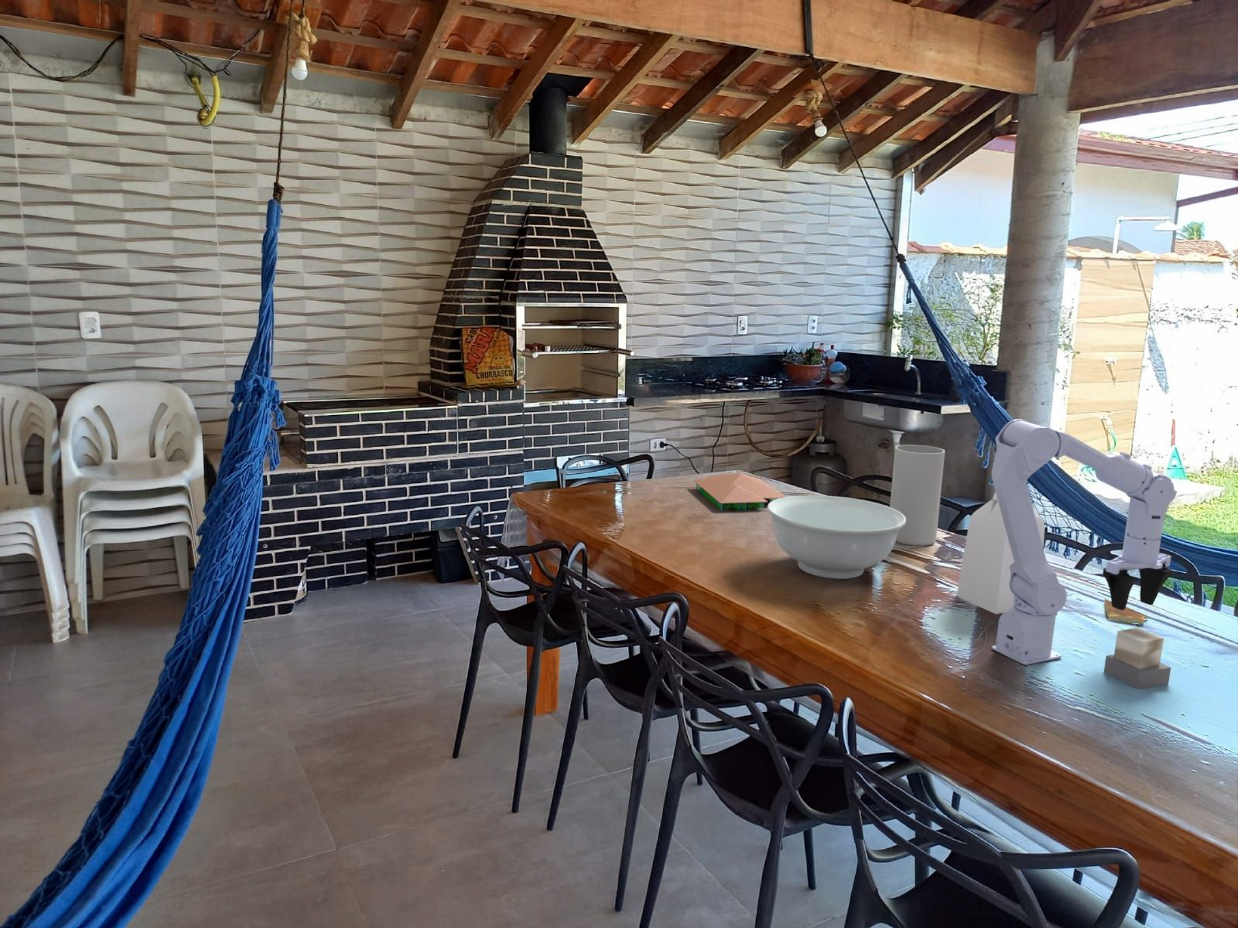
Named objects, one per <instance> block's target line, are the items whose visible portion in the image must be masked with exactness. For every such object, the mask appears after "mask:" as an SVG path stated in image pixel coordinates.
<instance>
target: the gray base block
mask: <svg viewBox="0 0 1238 928" xmlns="http://www.w3.org/2000/svg"><path fill="white" fill-rule="evenodd" d="M1171 670H1172V667H1170V666H1169V665H1167V664H1166V663H1165V664H1164V663H1162V662H1160V665H1157V666H1152V667H1147V668H1143V669H1138V668H1136V667H1134V666H1131V665H1129V664H1127V663H1125V662H1122V661H1120V660H1118V659H1116V658H1114V654H1108V655H1106V656H1105V663H1104V669H1103V673H1105V674H1107V675H1109V676H1110V677H1113V678H1115V679H1116V680H1119V681H1120V682H1123V683H1124V684H1126V685H1128V686H1131V688H1134V689H1136V690H1141V689H1147V688H1153V687H1159V686H1166V685H1169V683H1170V676H1171Z"/></svg>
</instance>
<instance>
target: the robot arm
mask: <svg viewBox="0 0 1238 928" xmlns="http://www.w3.org/2000/svg"><path fill="white" fill-rule="evenodd" d="M995 444H996V451H995V455H994V460H993V465H992V469H991V473H990V474H991V480H992V483H993V487H994V493H995V492H996V495H997V499H998V503H999V506H1000V510H1001V514H1002V518H1003V521H1004V525H1005V529H1006V533H1007V536H1008V540H1009V544H1010V548H1011V551H1012V555H1013V559H1014V562H1013V563H1012V564H1011V565H1010V566H1009V568H1010V572H1011V576H1010V580H1009V587H1010V590H1011V592H1012V593H1013V594H1014V605H1013V607H1012V609H1011V610H1010V611H1008V612H1005V613H1001V615H1000V616H999V620H998V623H997V624H998V625H997V633H996V634H997V635H996V640H995V645H992V646H991V649H992V650H994V651H995V652H997V653H1000V654H1002V655H1004V656H1006V657H1007V658H1009V659H1012V660H1013V661H1016V662H1018V663H1020V664H1022V665H1025V666H1027V665H1031V664H1037V663H1042V662H1046V661H1053V660H1056V659H1061V658H1062V657H1063V655H1062V654H1061V653H1058V652H1056V651H1054V650H1053V641H1054V634H1055V632H1054V631H1055V627H1056V626H1055V625H1056V618H1057V617H1056V616H1057V615H1058V612H1060V611H1061V610H1062V609H1063V608H1064V606H1065V605H1066V603H1067V598H1068V593H1067V591H1066V588H1065V586H1063V585H1062V583H1060V582H1059V579H1058V576H1057V574H1056V572H1055V570H1054V569H1053V567H1052V566H1051V564H1050V563H1049V562H1048V560H1047V558H1046V554H1045V550H1044V545H1042V541H1041V538H1040V534H1039V530H1038V526H1037V522H1036V518H1035V514H1034V511H1033V507H1034V506H1033V503H1032V500H1031V499H1032V498H1031V496H1030V491H1029V488H1028V484H1027V481H1028V479H1029V478H1030V477H1031V476H1032V475H1034V473H1036V472H1037V471H1038V470H1039V469H1041V468H1042V467H1044V465H1045V464H1046V463H1048V462H1050V461H1051V460H1052V459H1053V458H1056V459H1060V458H1063V456H1065V457H1068V458H1069V459H1071V460H1073V461H1075V462H1078V463H1080V464H1082V465H1085V466H1086V467H1088V468H1090V469H1093V470H1094V472H1095V473H1094V474H1095V477H1096V478H1097V480H1098V481H1101V483H1105V484H1106V485H1108V486H1110V487H1112V488H1114V489H1116V490H1118V491H1120V492H1122V493H1124V494H1126V496H1127V497H1128V498H1129V504H1128V512H1127V518H1126V524H1125V530H1124V531H1125V532H1124V540H1123V546H1122V552H1121V555H1119V556H1118V557H1115V558H1114V559H1111V560H1108V561H1106V567H1103V569H1102V574H1103V577H1104V578H1105V581H1106V582H1107V586H1108V589H1109V593H1110V601H1111V602H1112V607H1114V608H1117V609H1119V610H1124V609H1125V607H1127V604H1128V600H1129V598H1130V597H1129V595H1130V592H1131V591H1132V588H1133V587H1134V585H1135V583H1136V581H1137V580H1138V578H1137V577H1136V576H1132V575H1130V573H1129V571H1136V570H1138V573H1139V579H1140V589H1139V601H1140V602H1141V603H1143V604H1145V605H1148V606H1152V605H1154V604H1155V601H1156V599H1157V597H1158V595H1159V593H1160V591H1161V590H1162V587H1163V585H1165V583H1166V581H1167V580H1168V579H1169V578H1170V577H1171V576H1172V574H1173V570H1172V569H1170V568H1169V567H1171V566H1170V565H1171V560H1172V556H1171V555H1168V554H1165V553H1161V552H1160V548H1161V543H1162V542H1161V540H1162V535H1163V534H1162V533H1163V529H1164V522H1165V516H1166V513H1168V509H1169V505H1170V504H1171V503H1172V502H1173V501H1174V500H1175V498H1176V496H1177V493H1178V492H1177V490H1176V489H1175V487H1174V483H1173V482H1172V479H1171V478H1170V477H1168V476H1167V475H1164V474H1161V473H1158V472H1154V471H1152V469H1153V468H1152V466H1150V465H1148V464H1146V463H1143V464H1140V463H1139V462H1137V461H1135V460H1133V459H1131V457H1132V455H1130V454H1129V453H1126V452H1123V451H1120V452H1115V451H1113V452H1108V453H1103V452H1101V451H1099V450H1097V449H1096V448H1094V447H1092V446H1090V445H1089V444H1087V443H1086V442H1085V443H1084V441H1081V440H1079V439H1078V438H1076V437H1074V436H1073V435H1072V434H1068V433H1065V432H1062V431H1059V430H1056V429H1053V428H1050V427H1047V426H1042V425H1040V424H1039V425H1038V424H1035V423H1031V422H1028V421H1027V420H1025V419H1020V418H1018V419H1016V418H1015V419H1013V420H1010V421H1009V422H1007V423H1006V424H1004V426H1003V427H1002V429H1001V430H1000V431H999V433H997V435H996V437H995ZM1032 506H1033V507H1032Z"/></svg>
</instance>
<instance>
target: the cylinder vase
mask: <svg viewBox="0 0 1238 928" xmlns="http://www.w3.org/2000/svg"><path fill="white" fill-rule="evenodd" d="M945 456H946V451H945V449H943V448H940V447H937V446H936V447H935V446H932V445H931V446H930V445H921V444H899V445H896V446H895V447H894V457H893V458H894V459H893V467H892V468H893V470H892V481H891V491H890V503H889V507H891V508H893V509H895V510H897V511H899V512H901V513H902V514H903V515H904V516H905V518H906V523H905V525H904V527H902V528H901V529H900V530H899V532H898V535H897V538H896V541H895V543H899V544H901V545H906V546H907V545H909V546H916V547H917V546H919V547H921V546H924V547H925V546H930V545H933V544H934V543H935V542H936V541H937V535H938V534H937V533H938V527H939V525H938V523H939V514H940V504H941V496H942V495H941V493H942V485H943V475H944V465H945Z"/></svg>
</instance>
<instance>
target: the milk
mask: <svg viewBox="0 0 1238 928" xmlns="http://www.w3.org/2000/svg"><path fill="white" fill-rule="evenodd" d="M1032 507H1033V511H1034V514H1035V518H1036V522H1037V526H1038V530H1039V534H1040V538H1041V541H1042V545H1043V546H1044V542H1045V541H1044V540H1045V530H1046V529H1045V522H1044V521H1043V519H1042V517H1041V515H1040V514H1039V513H1038V511H1037V510H1036V508H1035V507H1034V505H1032ZM967 528H968V529H967V532H966V533H967V535H966V537H965V539H966V540H965V543H964V544H965V545H964V550H963V551H964V552H963V557H962V562H961V568H960V574H959V578H958V585H957V591H956V596H957V597H959V598H960V599H963V600H965V601H967V602H969V603H971V604H974V605H975V606H977V607H979V608H982V609H984V610H986V611H988V612H991V613H993V615H994V614H995V615H998V614H1004V613H1005V612H1008V611H1010V610H1011V609H1012V607H1013V605H1014V594H1013V593H1012V592H1011V590H1010V587H1009V580H1010V576H1011V572H1010V568H1009V566H1010V565H1011V564H1012V563H1013V562H1014V559H1013V555H1012V551H1011V548H1010V544H1009V540H1008V536H1007V533H1006V529H1005V525H1004V521H1003V518H1002V514H1001V510H1000V506H999V503H998V499H997V495H996V492H995V491H994V493H993V497H992V499H990V500H989V501H988V502H986V503H985V504H983V505H981V506H980V507H979V508H978V509H976V510H975V511H973V513H972V514H971V516H970V517H969V523H968V527H967Z"/></svg>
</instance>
